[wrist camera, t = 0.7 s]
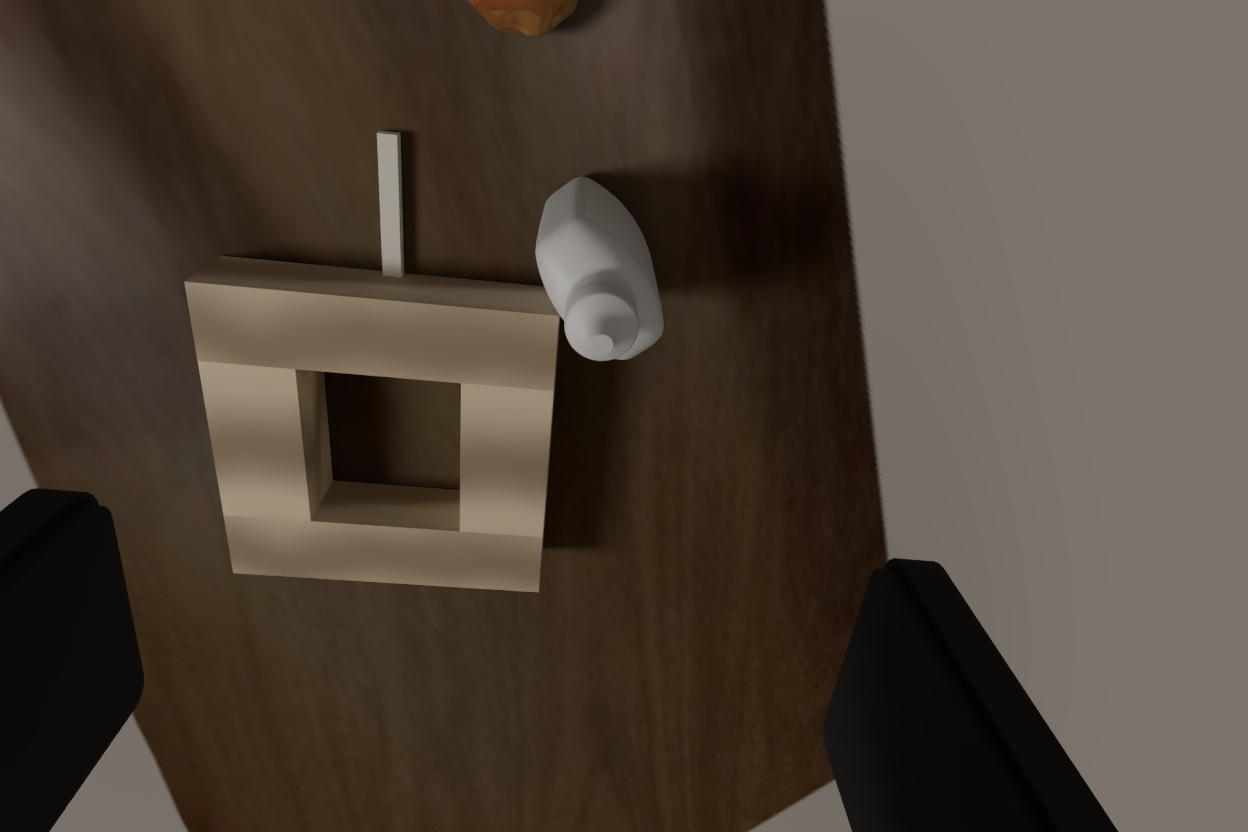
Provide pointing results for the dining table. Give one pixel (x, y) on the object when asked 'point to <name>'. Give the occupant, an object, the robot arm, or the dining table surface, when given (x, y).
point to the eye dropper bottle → (598, 272)
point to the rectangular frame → (389, 347)
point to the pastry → (525, 14)
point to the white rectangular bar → (391, 202)
